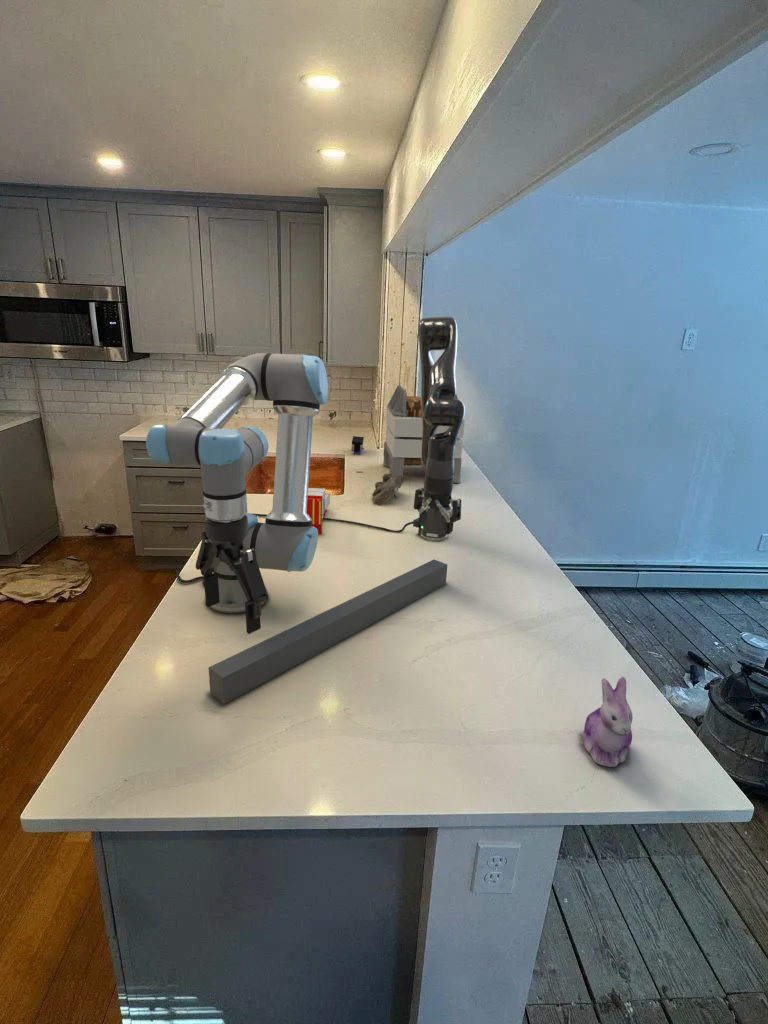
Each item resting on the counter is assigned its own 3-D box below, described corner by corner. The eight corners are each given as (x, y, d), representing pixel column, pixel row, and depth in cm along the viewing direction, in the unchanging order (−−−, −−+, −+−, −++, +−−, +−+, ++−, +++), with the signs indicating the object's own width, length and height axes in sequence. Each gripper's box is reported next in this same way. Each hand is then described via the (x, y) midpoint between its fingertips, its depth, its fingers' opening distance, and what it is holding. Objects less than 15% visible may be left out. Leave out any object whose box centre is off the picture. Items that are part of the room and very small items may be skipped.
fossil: (371, 479, 247) (398, 460, 242) (384, 495, 250) (412, 477, 245) (364, 500, 227) (394, 480, 222) (379, 517, 230) (409, 498, 225)
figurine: (610, 778, 98) (627, 706, 93) (567, 739, 106) (580, 672, 101) (647, 760, 102) (665, 691, 97) (603, 725, 110) (617, 659, 105)
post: (432, 578, 168) (434, 559, 166) (445, 583, 165) (447, 564, 163) (210, 693, 114) (208, 667, 112) (224, 704, 111) (222, 678, 109)
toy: (331, 483, 220) (325, 497, 191) (330, 517, 223) (325, 535, 194) (299, 482, 220) (289, 496, 190) (299, 516, 223) (289, 534, 193)
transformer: (382, 463, 289) (386, 382, 275) (445, 464, 293) (451, 384, 279) (390, 482, 257) (394, 392, 243) (460, 483, 261) (468, 394, 247)
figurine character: (363, 457, 303) (363, 448, 316) (363, 444, 300) (364, 435, 313) (350, 457, 303) (351, 447, 316) (351, 444, 299) (352, 434, 313)
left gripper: (171, 503, 108) (181, 600, 116) (250, 541, 93) (255, 651, 100) (206, 494, 113) (213, 588, 121) (286, 529, 98) (288, 634, 106)
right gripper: (410, 470, 153) (406, 526, 159) (453, 482, 145) (448, 540, 150) (426, 465, 159) (423, 519, 164) (469, 476, 150) (464, 533, 156)
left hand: (232, 617), depth 111 cm, fingers open, 13 cm apart
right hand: (435, 529), depth 157 cm, fingers open, 8 cm apart
